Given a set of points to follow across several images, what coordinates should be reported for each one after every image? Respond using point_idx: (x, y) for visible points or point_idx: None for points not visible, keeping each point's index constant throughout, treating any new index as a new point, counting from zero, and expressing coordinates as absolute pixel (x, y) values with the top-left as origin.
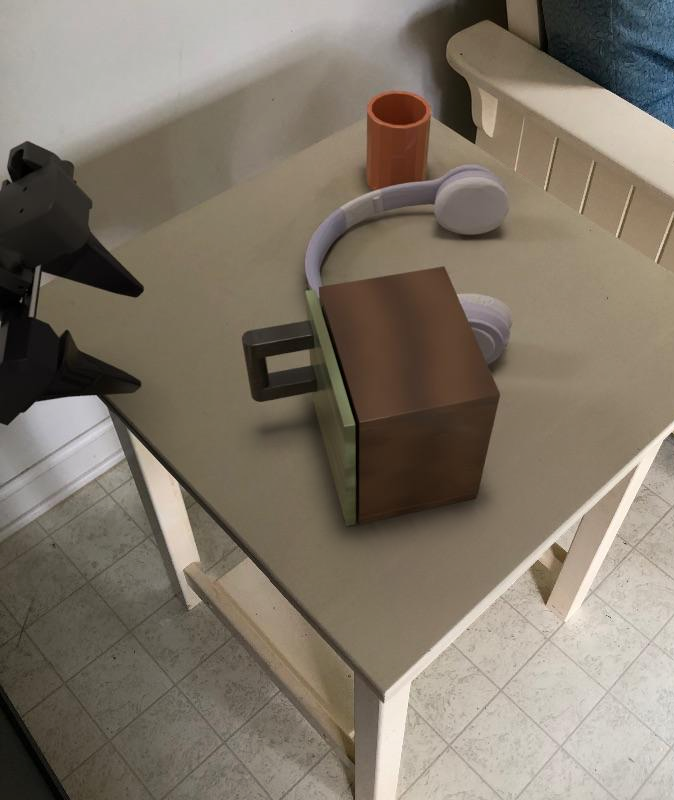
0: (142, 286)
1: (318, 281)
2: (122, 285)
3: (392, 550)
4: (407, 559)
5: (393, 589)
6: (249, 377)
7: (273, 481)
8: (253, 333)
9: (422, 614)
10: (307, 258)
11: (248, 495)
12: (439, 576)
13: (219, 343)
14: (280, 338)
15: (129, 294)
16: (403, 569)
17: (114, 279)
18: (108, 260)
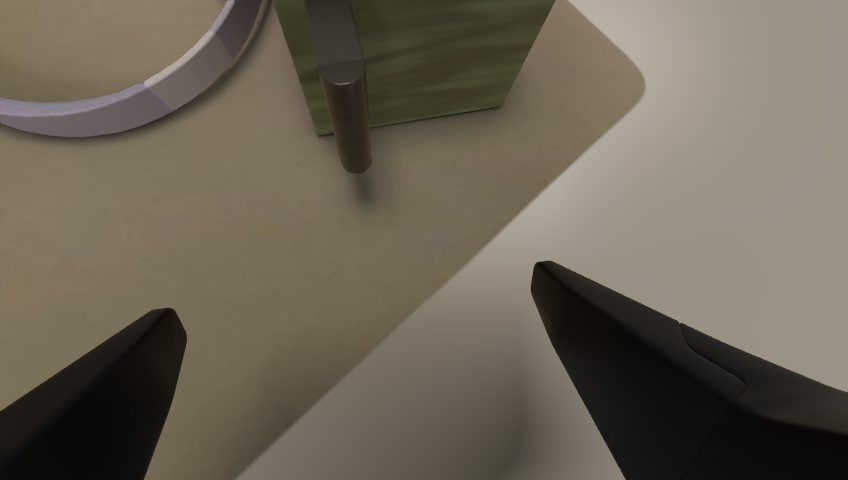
0: (156, 310)
1: (85, 100)
2: (151, 374)
3: (524, 67)
4: (533, 54)
5: (566, 70)
6: (363, 142)
7: (442, 184)
8: (330, 61)
9: (588, 48)
10: (19, 111)
11: (462, 212)
12: (549, 30)
13: (189, 269)
14: (346, 14)
15: (178, 356)
16: (544, 59)
17: (127, 403)
18: (26, 432)
